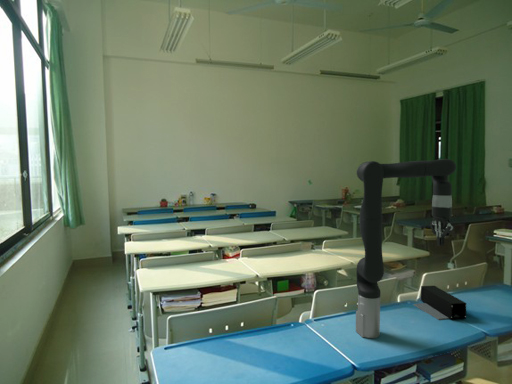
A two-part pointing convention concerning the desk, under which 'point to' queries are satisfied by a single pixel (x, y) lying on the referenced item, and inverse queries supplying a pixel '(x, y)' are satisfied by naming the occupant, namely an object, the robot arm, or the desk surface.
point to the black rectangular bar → (443, 302)
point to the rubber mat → (432, 311)
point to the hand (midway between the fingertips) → (440, 245)
